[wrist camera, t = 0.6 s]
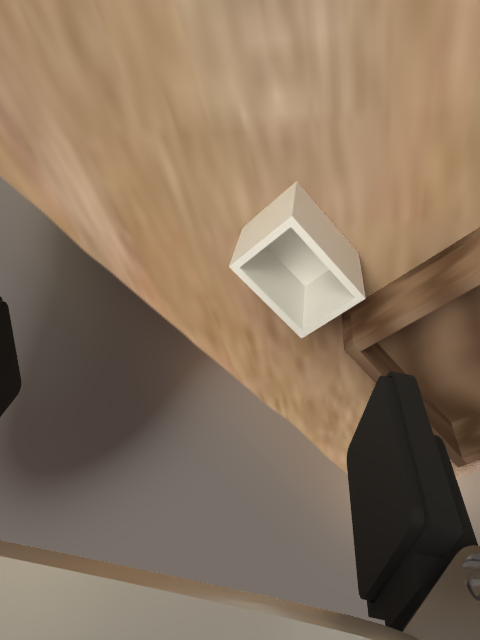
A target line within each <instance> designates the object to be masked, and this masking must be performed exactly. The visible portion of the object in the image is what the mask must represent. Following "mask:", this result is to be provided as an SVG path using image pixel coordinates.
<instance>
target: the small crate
mask: <svg viewBox="0 0 480 640" xmlns="http://www.w3.org/2000/svg"><path fill="white" fill-rule="evenodd" d="M229 267H230V268H231V269H232V270H233V271H234V272H235V273H236V274H237V275H238V276H239V277H240V278H241V279H242V280H243V281H244V282H245V283H246V284H247V285H248V286H249V287H250V288H251V289H252V290H253V291H254V292H255V293H256V294H257V295H258V296H259V297H260V298H261V299H262V300H263V301H264V302H265V303H266V304H267V305H268V306H269V307H270V308H271V309H272V310H273V311H274V312H275V313H276V314H277V315H278V316H279V317H280V318H281V319H282V320H283V321H284V322H285V323H286V324H287V325H288V326H289V327H290V328H291V329H292V330H293V331H294V332H295V333H296V334H297V335H298V336H299V337H300V338H301V339H302V338H303V337H305V336H306V335H308V334H310V333H311V332H313V331H315V330H316V329H318V328H319V327H321V326H323V325H324V324H326V323H327V322H329V321H331V320H332V319H334V318H335V317H337V316H339V315H340V314H342V313H343V312H345V311H347V310H348V309H350V308H351V307H353V306H355V305H356V304H358V303H359V302H361V301H363V300H364V299H366V297H365V291H364V284H363V278H362V271H361V265H360V258H359V253H358V252H357V251H356V249H355V248H354V247H353V246H352V245H351V244H350V242H349V241H348V240H347V239H346V238H345V237H344V235H343V234H342V233H341V232H340V231H339V230H338V228H337V227H336V226H335V225H334V224H333V223H332V221H331V220H330V219H329V218H328V217H327V216H326V214H325V213H324V212H323V211H322V210H321V209H320V207H319V206H318V205H317V204H316V203H315V202H314V200H313V199H312V198H311V197H310V196H309V195H308V193H307V192H306V191H305V190H304V189H303V188H302V186H301V185H300V184H299V183H298V182H297V181H296V182H295V183H294V184H293V185H291V186H290V187H289V188H288V189H287V190H286V191H284V192H283V193H282V194H281V195H280V196H278V197H277V198H276V199H275V200H274V201H273V202H271V203H270V204H269V205H268V206H267V207H266V208H264V209H263V210H262V211H261V212H260V213H258V214H257V215H256V216H255V217H254V218H253V219H251V220H250V221H249V222H248V223H247V224H246V225H244V226H243V228H242V231H241V234H240V237H239V240H238V243H237V245H236V248H235V251H234V254H233V257H232V259H231V262H230V265H229Z"/></svg>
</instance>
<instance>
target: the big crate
mask: <svg viewBox="0 0 480 640" xmlns="http://www.w3.org/2000/svg"><path fill="white" fill-rule="evenodd" d="M342 323H343V338H344V350H345V351H346V352H347V353H348V354H349V355H350V356H351V357H352V358H353V359H354V360H355V361H356V362H357V364H358V365H359V366H360V367H361V368H362V369H363V370H364V371H365V372H366V373H367V374H368V375H369V376H370V377H371V378H372V379H373V380H374V381H375V382H376V383H377V380H378V378H379V377H380V376H387V374H388V373H389V372H391V371H392V372H398V373H403V374H408V375H413V376H415V378H416V380H417V383H418V386H419V389H420V393H421V396H422V399H423V402H424V405H425V409H426V412H427V415H428V418H429V422H430V425H431V428H432V431H433V434H434V435H437V436H439V437H440V438H442V440H443V442H444V444H445V447H446V450H447V453H448V456H449V458H450V459H451V460H452V461H453V462H454V463H455V464H456V465H457V466H458V467H461V466H464V465H466V464H469V463H472V462H475V461H477V460H480V228H478V229H477V230H475V231H474V232H472V233H470V234H469V235H467V236H465V237H464V238H462V239H461V240H459V241H457V242H456V243H454V244H453V245H451V246H449V247H448V248H446V249H445V250H443V251H441V252H440V253H438V254H437V255H435V256H433V257H432V258H430V259H429V260H427V261H425V262H424V263H422V264H421V265H419V266H417V267H416V268H414V269H413V270H411V271H409V272H408V273H406V274H404V275H403V276H401V277H400V278H398V279H396V280H395V281H393V282H392V283H390V284H388V285H387V286H385V287H384V288H382V289H380V290H379V291H377V292H376V293H374V294H372V295H371V296H369V297H368V298H366V299H364V300H363V301H361V302H360V303H358V304H356V305H355V306H353V307H351V308H350V309H348V310H347V311H345V312H343V313H342Z"/></svg>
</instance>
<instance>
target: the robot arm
mask: <svg viewBox="0 0 480 640" xmlns="http://www.w3.org/2000/svg"><path fill="white" fill-rule="evenodd" d="M20 388H21V377H20V371H19V366H18V360H17V354H16V349H15V343H14V338H13V331H12V326H11V320H10V314H9V308H8V305H7V304H6V302H4V301H2V298H1V297H0V417H1V415H2V414H3V413H4V411H5V410H6V409H7V408H8V406H9V405H10V404H11V403H12V401H13V400H14V399H15V397H16V396H17V395H18V393H19V391H20ZM347 470H348V481H349V492H350V502H351V513H352V523H353V535H354V545H355V556H356V568H357V579H358V589H359V595H360V597H361V599H365V600H367V606H368V615H369V617H372V618H377V619H381V620H385V625H386V626H384V625H381V624H378V623H374V622H371V621H367V620H364V619H360V618H356V617H353V616H350V615H345V614H341V613H337V612H332V611H328V610H324V609H319V608H315V607H311V606H307V605H303V604H298V603H294V602H290V601H285V600H281V599H276V598H273V597H268V596H263V595H258V594H254V593H249V592H245V591H240V590H235V589H231V588H226V587H221V586H216V585H211V584H207V583H202V582H198V581H193V580H188V579H184V578H179V577H174V576H170V575H165V574H161V573H156V572H151V571H146V570H141V569H137V568H132V567H127V566H122V565H118V564H113V563H108V562H103V561H99V560H94V559H89V558H84V557H80V556H75V555H70V554H65V553H60V552H56V551H51V550H46V549H41V548H36V547H31V546H26V545H22V544H17V543H12V542H7V541H2V540H0V640H480V546H478V544H477V541H476V538H475V535H474V532H473V529H472V526H471V522H470V520H469V517H468V514H467V510H466V507H465V504H464V501H463V498H462V495H461V492H460V489H459V486H458V483H457V480H456V477H455V474H454V471H453V468H452V465H451V462H450V459H449V456H448V453H447V450H446V447H445V444H444V442H443V440H442V438H440V437H439V436H437V435H434V434H433V431H432V428H431V425H430V422H429V418H428V415H427V412H426V409H425V405H424V402H423V399H422V396H421V393H420V389H419V386H418V383H417V380H416V378H415V376H413V375H408V374H403V373H398V372H392V371H391V372H389V373H388V374H387V376H380V377H379V378H378V380H377V383H376V385H375V387H374V390H373V392H372V394H371V397H370V399H369V401H368V404H367V406H366V408H365V411H364V413H363V415H362V418H361V420H360V422H359V424H358V427H357V429H356V431H355V434H354V436H353V438H352V441H351V443H350V445H349V448H348V452H347Z"/></svg>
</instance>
